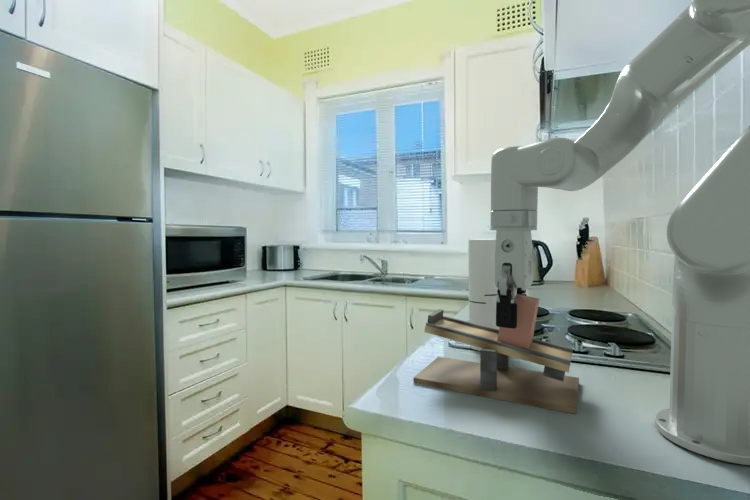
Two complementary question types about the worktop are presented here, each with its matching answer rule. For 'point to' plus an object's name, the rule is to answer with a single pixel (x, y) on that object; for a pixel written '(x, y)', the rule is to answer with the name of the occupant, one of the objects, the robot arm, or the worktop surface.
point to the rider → (521, 323)
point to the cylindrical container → (482, 283)
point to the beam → (502, 343)
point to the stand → (501, 381)
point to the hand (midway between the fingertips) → (511, 320)
